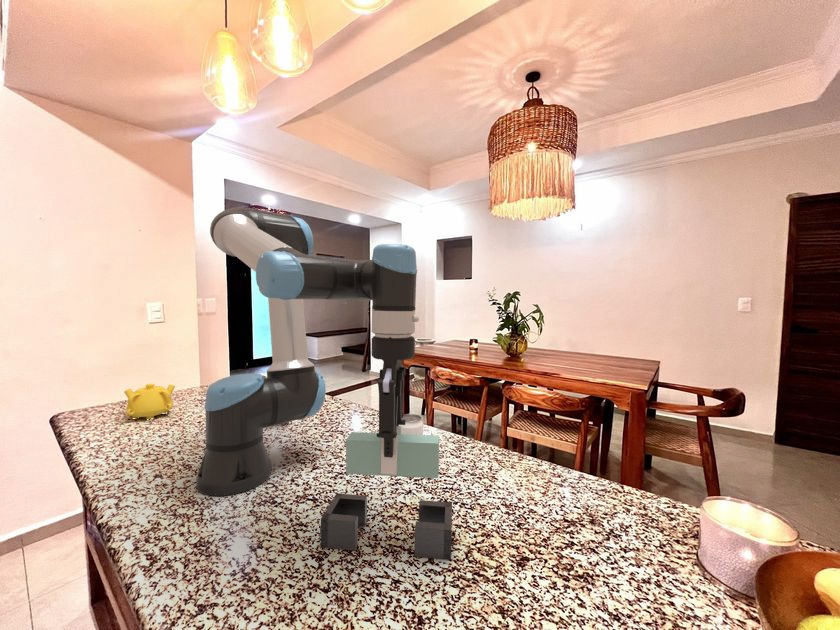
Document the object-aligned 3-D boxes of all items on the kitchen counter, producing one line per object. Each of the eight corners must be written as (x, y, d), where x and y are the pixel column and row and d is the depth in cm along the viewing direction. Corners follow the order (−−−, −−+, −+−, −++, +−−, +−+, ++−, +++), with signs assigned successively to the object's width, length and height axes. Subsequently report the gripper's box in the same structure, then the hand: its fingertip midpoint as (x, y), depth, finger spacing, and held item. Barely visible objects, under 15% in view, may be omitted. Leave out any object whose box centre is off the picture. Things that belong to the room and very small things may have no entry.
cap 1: (320, 547, 59) (320, 518, 58) (336, 518, 66) (336, 493, 66) (355, 550, 58) (355, 521, 58) (366, 521, 66) (367, 495, 65)
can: (419, 471, 85) (420, 423, 85) (394, 467, 87) (395, 420, 86) (424, 459, 92) (425, 414, 91) (400, 456, 93) (401, 412, 92)
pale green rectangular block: (346, 473, 60) (345, 439, 60) (351, 464, 64) (351, 432, 63) (438, 478, 59) (438, 443, 58) (438, 468, 62) (439, 435, 62)
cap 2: (451, 528, 64) (452, 502, 64) (450, 560, 56) (451, 530, 56) (419, 525, 65) (419, 499, 64) (414, 556, 57) (414, 526, 57)
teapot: (175, 406, 130) (174, 377, 129) (176, 417, 119) (176, 385, 118) (124, 413, 121) (124, 382, 121) (121, 425, 110) (120, 391, 110)
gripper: (409, 341, 52) (406, 495, 53) (419, 331, 68) (417, 448, 69) (359, 339, 52) (357, 491, 53) (381, 330, 69) (380, 446, 70)
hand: (391, 466), depth 61 cm, fingers closed on pale green rectangular block, 3 cm apart
